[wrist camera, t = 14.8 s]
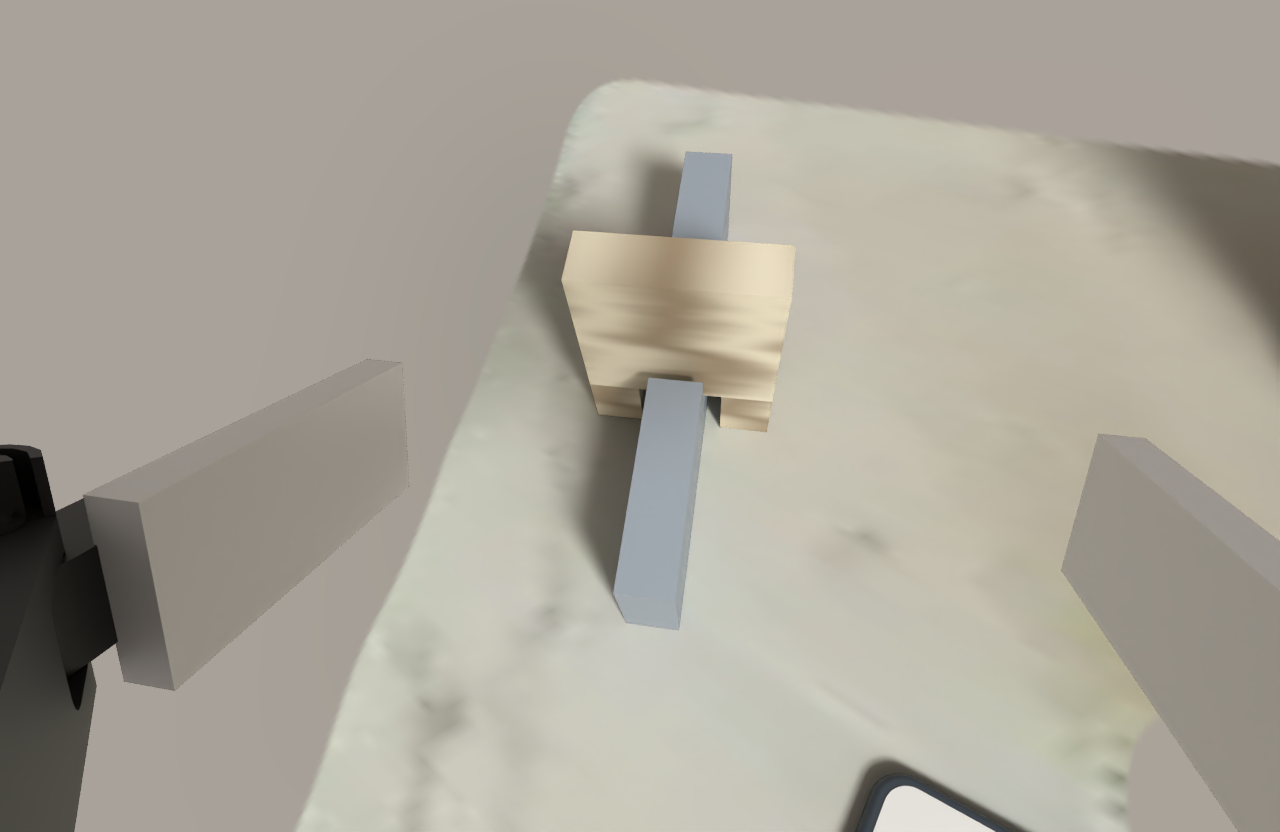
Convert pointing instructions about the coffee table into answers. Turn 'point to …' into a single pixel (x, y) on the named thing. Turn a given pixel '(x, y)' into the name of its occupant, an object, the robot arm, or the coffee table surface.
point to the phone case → (918, 810)
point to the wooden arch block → (680, 319)
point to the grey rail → (670, 438)
